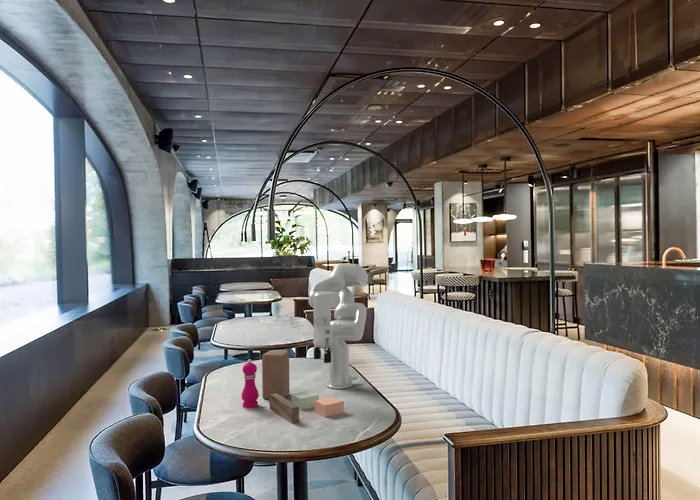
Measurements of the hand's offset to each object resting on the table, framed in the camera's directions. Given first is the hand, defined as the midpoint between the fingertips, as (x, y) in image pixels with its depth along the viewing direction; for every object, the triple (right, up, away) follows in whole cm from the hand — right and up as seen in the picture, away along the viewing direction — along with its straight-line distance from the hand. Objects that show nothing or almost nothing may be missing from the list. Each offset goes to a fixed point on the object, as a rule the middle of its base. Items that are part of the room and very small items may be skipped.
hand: (322, 360), depth 237 cm
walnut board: (-15, -18, -18) cm, 29 cm away
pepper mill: (-31, -19, -5) cm, 36 cm away
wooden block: (-21, -18, +9) cm, 29 cm away
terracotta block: (+3, -18, -15) cm, 24 cm away
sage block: (-7, -18, -5) cm, 20 cm away
